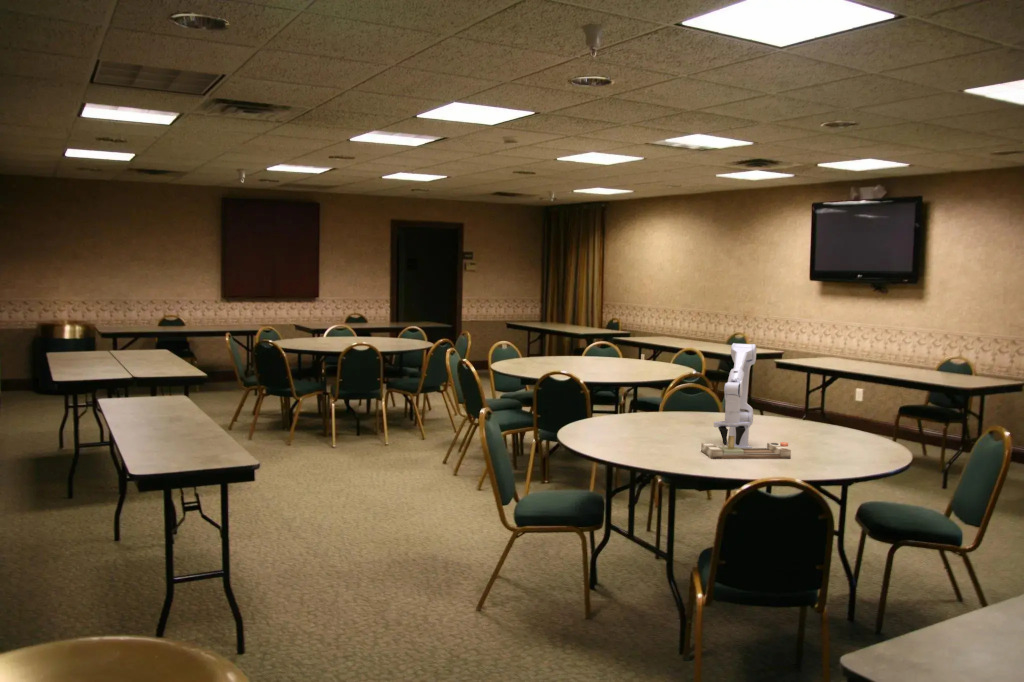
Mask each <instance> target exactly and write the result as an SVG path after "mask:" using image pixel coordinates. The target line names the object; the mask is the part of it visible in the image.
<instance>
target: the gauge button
mask: <svg viewBox="0 0 1024 682" xmlns="http://www.w3.org/2000/svg"><path fill="white" fill-rule="evenodd" d="M779 444H780V446H784V447H786V448H788V447H789V442H786V441H780V443H779Z"/></svg>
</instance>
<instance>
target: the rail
mask: <svg viewBox="0 0 1024 682" xmlns="http://www.w3.org/2000/svg"><path fill="white" fill-rule="evenodd" d="M718 447H719V446H717V445H715V444H713V443H712V442H701V447H700V449H701V450H700V451H701V452H702V453H703V454H705V455H706V456H707V457H709V458H711V459H712V460H715V459H718V460H726V459H727V460H730V459H731V460H736V459H737V460H739V459H740V460H742V459H743V460H744V459H745V460H748V459H749V460H751V459H752V460H753V459H754V460H766V459H771V460H772V459H773V460H774V459H775V460H776V459H777V460H778V459H779V460H784V459H785V460H790V459H791V458H792V450H791V449H789V448H788V447H784V446H780V443H777V442H767V443H766V447H752V448H741V449H742V450H744V453H727V454H724V453H723V450H722V449H720V448H718Z"/></svg>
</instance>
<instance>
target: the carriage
mask: <svg viewBox="0 0 1024 682" xmlns="http://www.w3.org/2000/svg"><path fill="white" fill-rule="evenodd" d="M734 438H735V436H729V435H727V442H728V444H727V446H717V447H718V448H720V449H722V450H723V453H724V454H727V453H744V450H742V449H741V448H739V447H734Z"/></svg>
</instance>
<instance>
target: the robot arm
mask: <svg viewBox="0 0 1024 682" xmlns="http://www.w3.org/2000/svg"><path fill="white" fill-rule="evenodd" d="M730 356H731V358H732V359H731V360H732V361H733V363H734V365H733V368H731V370H730V372H729V373H728V375H729V376H728V379H727V382H725V383H724V389H723V391H724V392H723V393H724V400H725V405H724V407H725V409H724V420H722V421H713V427H714V428H718V430H719V433H720V437H721V439H722V444H723V445H724V446H728V436H735V438H734V447H739V448H753V447H752V446H751V445H749V435H750V428H751V426H752V425H753V422H754V409H753V407H752V406H751V405H750V404H748V397H749V396H748V393H749V381H750V370H751V366H752V365H755V364H756V360H757V345H756V344H755V343H751V344H750V343H735V342H733V343H732V344H731V347H730Z"/></svg>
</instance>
